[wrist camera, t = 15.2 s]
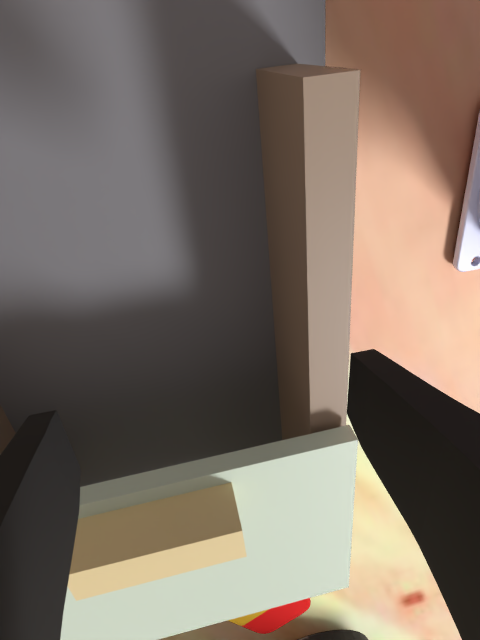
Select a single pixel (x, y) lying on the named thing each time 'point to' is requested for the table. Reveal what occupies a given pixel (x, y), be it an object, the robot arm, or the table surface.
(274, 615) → the popsicle
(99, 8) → the board
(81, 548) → the lid
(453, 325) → the table surface
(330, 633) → the lantern
